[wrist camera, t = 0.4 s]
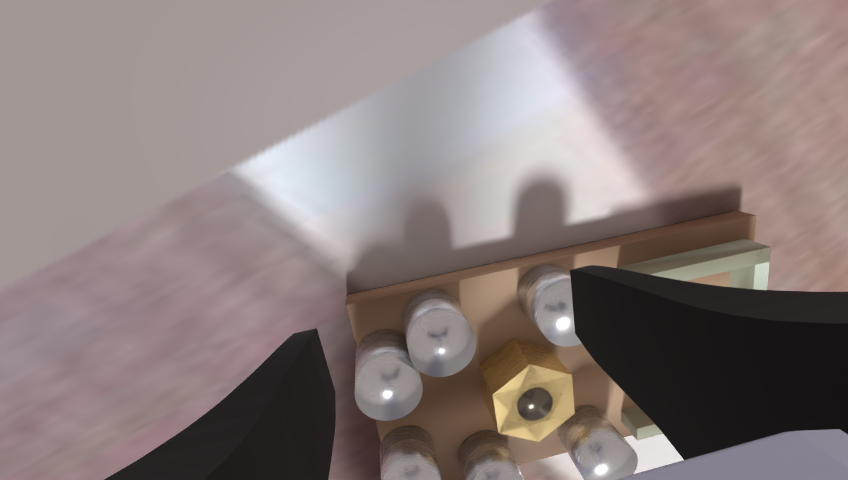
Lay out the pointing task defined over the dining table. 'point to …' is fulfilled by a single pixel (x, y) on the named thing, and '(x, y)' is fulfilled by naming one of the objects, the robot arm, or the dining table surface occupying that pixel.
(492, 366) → the nut
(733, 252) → the tan tray
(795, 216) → the dining table surface
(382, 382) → the spacers
